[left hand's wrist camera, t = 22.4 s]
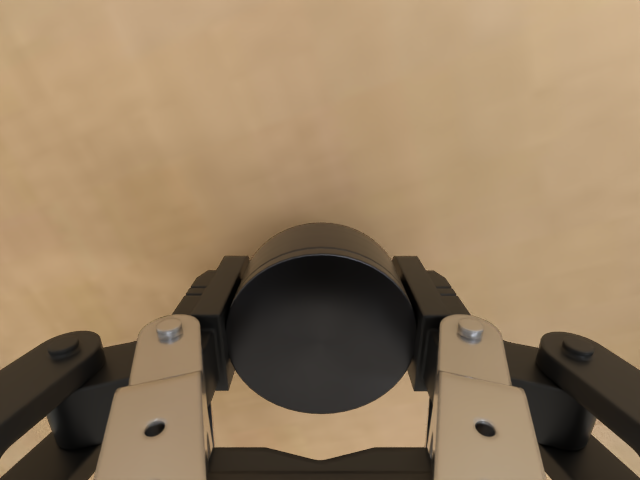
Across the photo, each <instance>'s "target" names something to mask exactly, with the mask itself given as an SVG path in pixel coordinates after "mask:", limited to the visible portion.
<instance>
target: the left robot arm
mask: <svg viewBox="0 0 640 480" xmlns="http://www.w3.org/2000/svg"><path fill="white" fill-rule="evenodd" d="M249 262H250V261H249V257H248V256H225V257H224V258H223V260H222V261H221V263H220V265H219V267H218V268H217V270H208V271H207V272H205V273H204V274H202V275H200V276H199V277H197V278H196V280H195V281H194V283H193V284H192V286H191V288H190V289H189V290H188V292H187V293H186V296H184V298H183V299H182V300H181V302H180V303H179V305H178V306H177V308H176V309H175V311H174V312H173V314H172V315H169V316H165V317H161V318H159V319H156V320H154V321H152V322H150V323H149V324H147V325H146V326H145V327H144V328H143V329H142V330H141V331H140V333H139V335H138V339H137V341H134V342H130V343H125V344H120V345H115V346H110V347H105V348H103V346H102V342H101V339H100V336H99V335H98V334H96V333H94V332H91V331H75V332H70V333H66V334H62V335H59V336H56V337H54V338H51V339H49V340H47V341H45V342H44V343H42V344H40V345H39V346H37V347H36V348H34V349H33V350H31V351H29V352H28V353H26V354H25V355H23V356H22V357H20V358H19V359H17V360H15V361H14V362H12V363H11V364H9V365H8V366H6V367H5V368H3V369H2V370H0V458H1V456H2V455H3V454H4V452H5V451H6V450H7V449H8V448H9V447H10V446H11V445H12V444H13V443H14V442H16V441H17V440H18V439H19V438H20V437H22V436H23V435H24V434H25V433H26V432H27V431H29V430H30V429H31V428H32V427H33V426H35V425H36V424H37V423H38V422H39V421H40V420H42V419H43V418H44V417H45V416H47V419H48V422H49V424H50V427H51V430H52V432H51V433H50V434H49V435H48V436H47V437H45V438H44V439H43V440H42V441H41V442H40V443H39V444H38V445H37V446H35V447H34V448H33V449H32V450H31V451H30V452H29V453H28V454H27V455H25V456H24V457H23V458H22V459H21V460H20V461H19V462H18V463H17V464H15V465H14V466H13V467H12V468H11V469H10V470H9V471H8V472H7V473H5V474H4V475H3V476H2V477H1V478H0V480H88V479H89V478H90V477H91V476H92V474H93V473H94V472H95V475H94V480H546V475H545V472H546V473H547V474H548V476H549V477H550V478H551V479H552V480H640V478H639V477H638V476H637V475H636V474H635V473H633V472H632V471H631V470H630V469H629V468H628V467H627V466H626V465H625V464H623V463H622V462H621V461H620V460H619V459H618V458H617V457H616V456H615V455H613V454H612V453H611V452H610V451H609V450H608V449H607V448H606V447H605V446H603V445H602V444H601V443H600V442H599V441H598V440H597V439H596V438H595V437H593V436H592V435H591V432H592V429H593V427H594V424H595V421H596V419H598V420H600V421H601V422H602V423H603V424H604V425H605V426H607V427H608V428H609V429H610V430H611V431H613V432H614V433H615V434H616V435H617V436H618V437H620V438H621V439H622V440H623V441H624V442H626V443H627V444H628V445H629V446H630V447H631V448H633V449H634V450H635V452H636V453H637V454H638V455H639V457H640V370H639V369H637V368H635V367H634V366H632V365H631V364H629V363H628V362H626V361H625V360H623V359H621V358H620V357H618V356H617V355H615V354H614V353H612V352H611V351H609V350H607V349H606V348H604V347H603V346H601V345H600V344H598V343H596V342H594V341H592V340H590V339H588V338H585V337H582V336H579V335H576V334H572V333H566V332H550V333H547V334H545V335H544V336H543V337H542V338H541V341H540V345H539V348H536V347H531V346H525V345H520V344H515V343H511V342H507V341H504V340H503V339H502V335H501V333H500V331H499V330H498V329H497V328H496V327H495V326H494V325H493V324H491V323H490V322H488V321H486V320H484V319H481V318H479V317H475V316H471V315H470V313H469V312H468V310H467V309H466V307H465V306H464V305H463V303H462V302H461V300H460V299H459V297H458V296H456V293H455V292H454V290H453V289H451V286H450V284H449V283H448V281H447V280H446V278H444V277H443V276H441V275H440V274H438V273H437V272H435V271H426V270H425V268H424V267H423V265H422V263H421V262H420V260H419V258H418V257H417V256H394V257H393V260H392V262H393V264H394V266H395V269H396V271H397V273H398V275H399V278H400V280H401V282H402V284H403V287H404V289H405V291H406V293H407V296H408V298H409V300H410V303H411V305H412V307H413V310H414V313H415V316H416V321H417V331H416V340H415V348H414V356H413V359H412V362H411V363H410V365H409V367H408V369H407V371H408V374H409V377H410V380H411V383H412V386H413V389H414V391H428V394H429V396H430V398H429V405H428V413H427V425H426V438H425V447H375V448H371V449H367V450H363V451H359V452H355V453H351V454H347V455H343V456H339V457H335V458H331V459H327V460H313V459H309V458H305V457H301V456H297V455H293V454H289V453H285V452H281V451H277V450H273V449H269V448H265V447H215V438H214V425H213V413H212V405H211V400H212V398H213V395H214V392H215V391H228V390H229V387H230V384H231V381H232V377H233V374H234V371H235V369H234V367H233V365H232V363H231V361H230V358H229V354H228V346H227V337H226V327H225V326H226V318H227V315H228V311H229V308H230V306H231V304H232V301H233V299H234V297H235V294H236V292H237V290H238V287H239V285H240V283H241V280H242V278H243V275H244V273H245V271H246V269H247V266H248V264H249Z"/></svg>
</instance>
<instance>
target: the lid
mask: <svg viewBox="0 0 640 480" xmlns="http://www.w3.org/2000/svg"><path fill="white" fill-rule="evenodd" d="M225 327H226V337H227V346H228V354H229V358H230V361H231V363H232V365H233V367H234V369H235V370H236V372H237V373H238V375H239V376H240V378H241V379H242V380H243V381H244V382H245V383H246V384H247V385H248V386H249V387H250V388H251V389H252V390H253V391H254V392H256V393H257V394H258V395H260V396H261V397H263V398H264V399H266V400H268V401H270V402H272V403H274V404H276V405H278V406H281V407H284V408H286V409H290V410H294V411H298V412H304V413H311V414H330V413H338V412H345V411H349V410H352V409H356V408H359V407H361V406H364V405H366V404H368V403H370V402H372V401H374V400H376V399H378V398H379V397H381V396H382V395H384V394H385V393H387V392H388V391H389V390H390V389H391V388H393V387H394V386H395V385H396V384H397V382H398V381H399V380H400V379H401V378H402V377H403V375H404V374H405V372H406V371H407V369H408V367H409V365H410V363H411V362H412V359H413V356H414V348H415V340H416V331H417V321H416V316H415V313H414V310H413V307H412V305H411V303H410V300H409V298H408V296H407V293H406V291H405V289H404V287H403V284H402V282H401V280H400V278H399V275H398V273H397V271H396V269H395V266H394V264H393V262H392V260H391V259H390V257H389V256H388V254H387V253H386V252H385V251H384V250H383V248H382V247H381V246H380V245H379V244H377V243H376V242H375V241H374V240H373V239H371V238H370V237H368V236H367V235H365V234H364V233H362V232H359V231H357V230H355V229H353V228H350V227H347V226H343V225H338V224H333V223H309V224H304V225H299V226H295V227H292V228H289V229H287V230H285V231H283V232H281V233H279V234H277V235H275V236H274V237H272V238H271V239H269V240H268V241H267V242H266V243H265V244H263V245H262V246H261V247H260V248H259V250H258V251H257V252H256V253H255V254H254V256H253V257H252V259H251V260H250V262H249V264H248V266H247V269H246V271H245V273H244V275H243V278H242V280H241V283H240V285H239V287H238V290H237V292H236V294H235V297H234V299H233V301H232V304H231V306H230V308H229V311H228V315H227V318H226V326H225Z"/></svg>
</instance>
